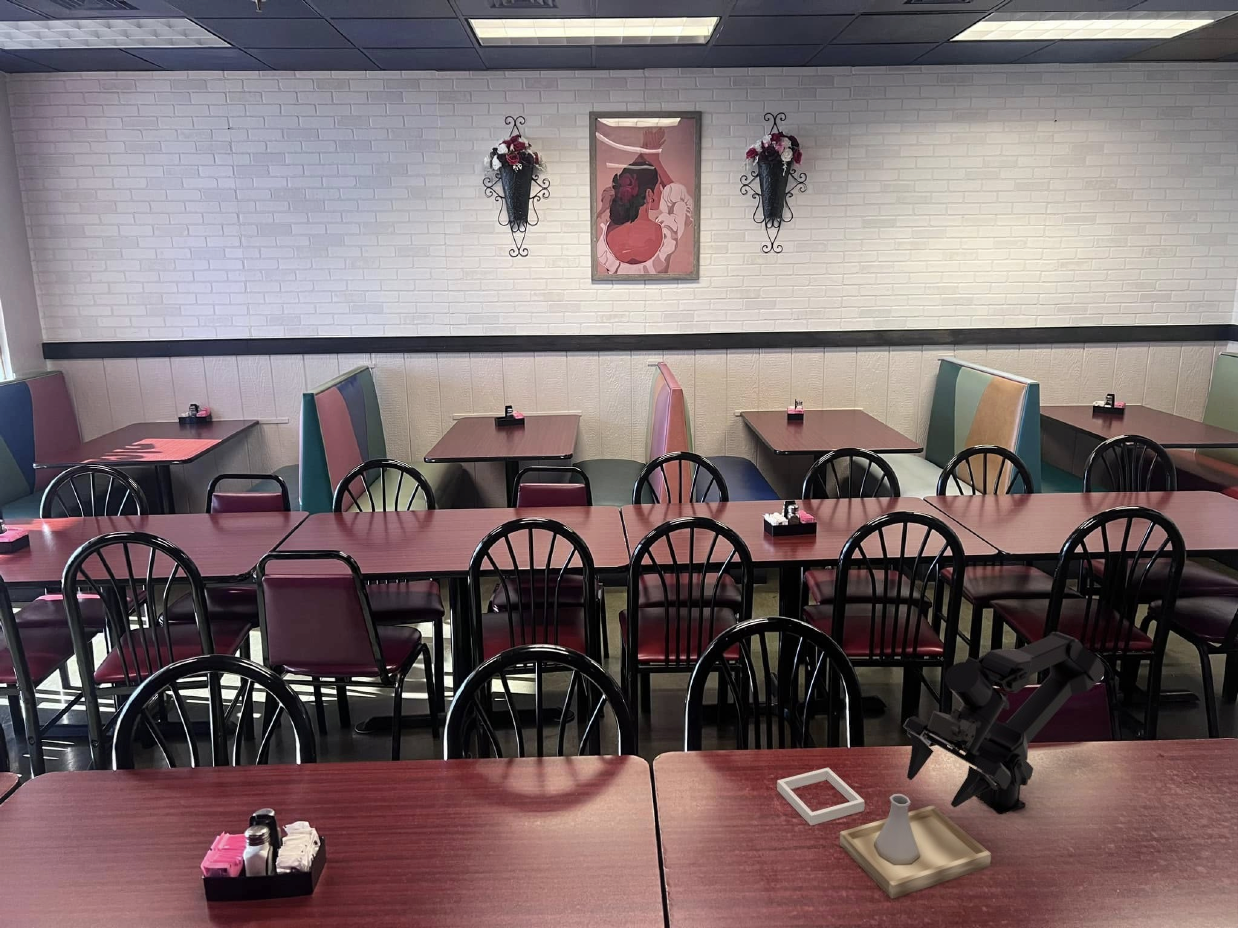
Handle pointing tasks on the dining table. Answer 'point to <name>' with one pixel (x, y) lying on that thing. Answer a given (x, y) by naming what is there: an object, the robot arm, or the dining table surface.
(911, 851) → the flask
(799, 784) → the white square frame
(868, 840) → the serving tray
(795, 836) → the dining table surface
